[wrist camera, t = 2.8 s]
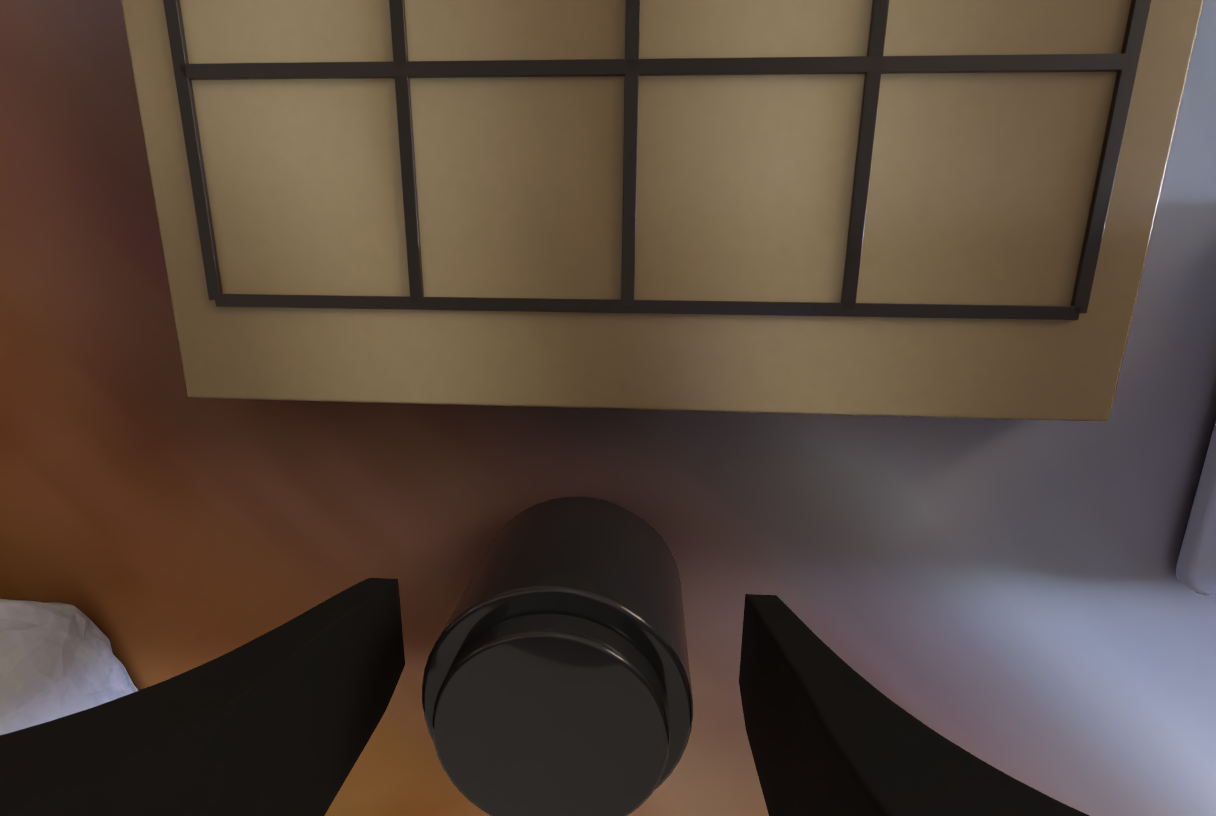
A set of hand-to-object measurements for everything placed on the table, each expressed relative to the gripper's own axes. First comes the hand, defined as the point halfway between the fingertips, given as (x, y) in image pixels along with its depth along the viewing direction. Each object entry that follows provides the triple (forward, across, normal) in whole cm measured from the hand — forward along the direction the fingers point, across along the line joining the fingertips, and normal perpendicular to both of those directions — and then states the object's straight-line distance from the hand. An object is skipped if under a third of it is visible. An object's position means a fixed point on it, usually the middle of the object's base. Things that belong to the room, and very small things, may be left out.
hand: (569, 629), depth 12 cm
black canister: (+2, 0, 0) cm, 2 cm away
